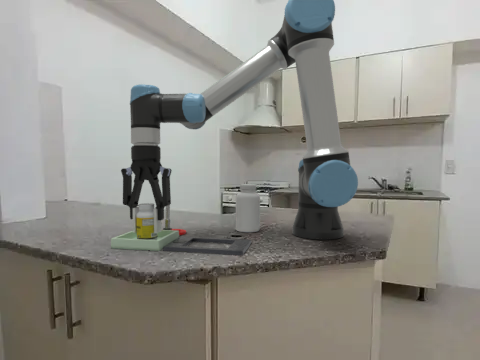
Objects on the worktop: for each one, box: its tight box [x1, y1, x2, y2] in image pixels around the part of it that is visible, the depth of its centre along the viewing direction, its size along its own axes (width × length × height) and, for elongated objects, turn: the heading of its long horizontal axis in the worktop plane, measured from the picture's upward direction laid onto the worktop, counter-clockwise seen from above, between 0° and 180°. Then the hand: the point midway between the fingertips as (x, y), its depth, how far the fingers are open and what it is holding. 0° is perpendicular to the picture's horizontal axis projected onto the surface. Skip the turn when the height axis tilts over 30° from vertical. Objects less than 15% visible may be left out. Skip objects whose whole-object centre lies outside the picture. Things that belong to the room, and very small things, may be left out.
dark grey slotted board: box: [162, 235, 252, 256], centre depth 83 cm, size 20×12×1 cm, turn 78°
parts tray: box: [110, 229, 180, 252], centre depth 86 cm, size 13×13×2 cm
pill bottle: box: [235, 183, 261, 233], centre depth 104 cm, size 8×8×15 cm
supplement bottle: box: [136, 202, 158, 240], centre depth 86 cm, size 5×5×10 cm
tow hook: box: [162, 204, 187, 236], centre depth 99 cm, size 8×13×9 cm
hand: (147, 231), depth 86 cm, fingers closed on supplement bottle, 5 cm apart
